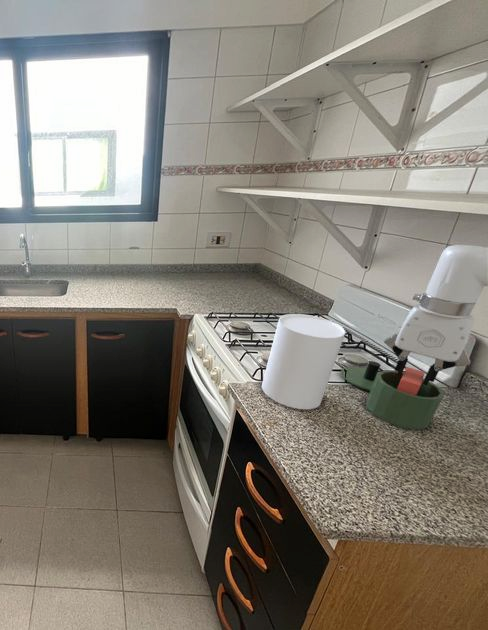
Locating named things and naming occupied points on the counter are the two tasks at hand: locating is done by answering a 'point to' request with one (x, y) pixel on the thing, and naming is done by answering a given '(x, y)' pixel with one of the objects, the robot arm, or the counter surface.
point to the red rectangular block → (411, 381)
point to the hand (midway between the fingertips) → (412, 377)
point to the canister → (302, 360)
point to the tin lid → (362, 375)
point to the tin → (403, 401)
